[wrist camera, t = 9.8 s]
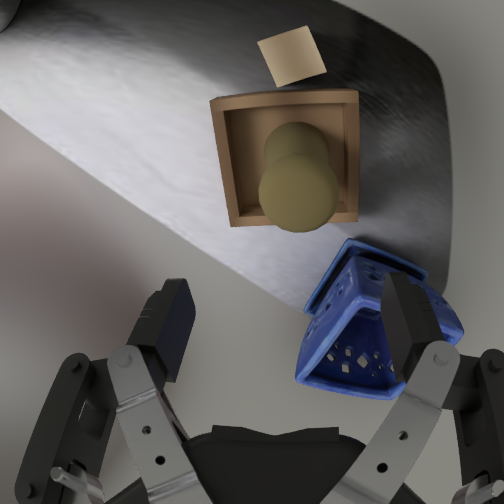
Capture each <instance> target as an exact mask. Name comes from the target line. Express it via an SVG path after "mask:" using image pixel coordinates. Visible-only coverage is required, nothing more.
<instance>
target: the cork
mask: <svg viewBox="0 0 504 504" xmlns="http://www.w3.org/2000/svg"><path fill="white" fill-rule="evenodd" d="M264 159H265V165H266V171H265V172H264V174H263V175H262V179H261V182H260V186H259V189H258V191H259V202H260V204H261V207H262V209H263V211H264V214H265V215H266V217H267V218H268V219H269V220H270V221H271V222H272V223H273V224H275V225H276V226H278V227H279V228H281V229H283V230H287V231H290V232H309V231H312V230H316V229H318V228H319V227H321V226H323V225H324V224H326V223H327V222H328V221H329V220H330V218H331V217H332V216H333V215H334V213H335V211H336V208H337V206H338V203H339V190H340V189H339V186H338V182H337V179H336V176H335V174H334V173H333V171H332V170H331V169H330V167H329V146H328V143H327V140H326V138H325V137H324V135H323V134H322V133H321V132H320V130H318V129H317V128H315V127H314V126H312V125H311V124H307V123H304V122H288V123H285V124H282V125H280V126H278V127H277V128H276V129H274V130H273V131H272V132H271V133H270V135H269V136H268V138H267V139H266V142H265V146H264Z"/></svg>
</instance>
